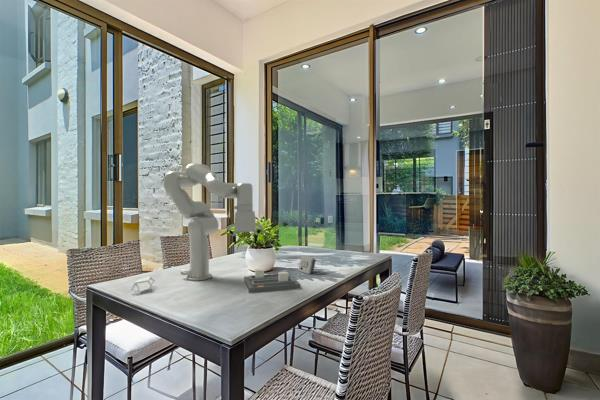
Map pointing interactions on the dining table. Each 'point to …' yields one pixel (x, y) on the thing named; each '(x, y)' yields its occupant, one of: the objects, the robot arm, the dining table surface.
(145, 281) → the origami figure
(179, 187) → the robot arm
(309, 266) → the electrical switch
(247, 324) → the dining table surface
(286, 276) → the tab front
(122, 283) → the dining table surface
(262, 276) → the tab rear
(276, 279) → the switch panel
